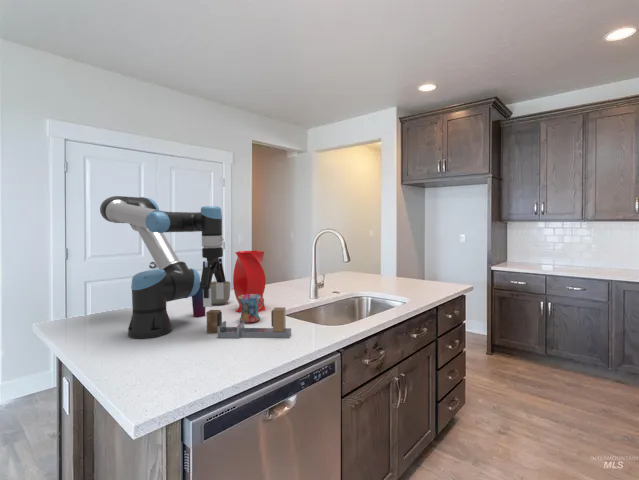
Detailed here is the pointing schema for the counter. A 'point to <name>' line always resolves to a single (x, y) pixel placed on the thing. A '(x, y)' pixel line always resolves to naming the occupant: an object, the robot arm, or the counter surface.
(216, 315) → the block
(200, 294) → the cup
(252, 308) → the mug
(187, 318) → the counter surface
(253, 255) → the vase
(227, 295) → the planter
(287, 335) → the rail
